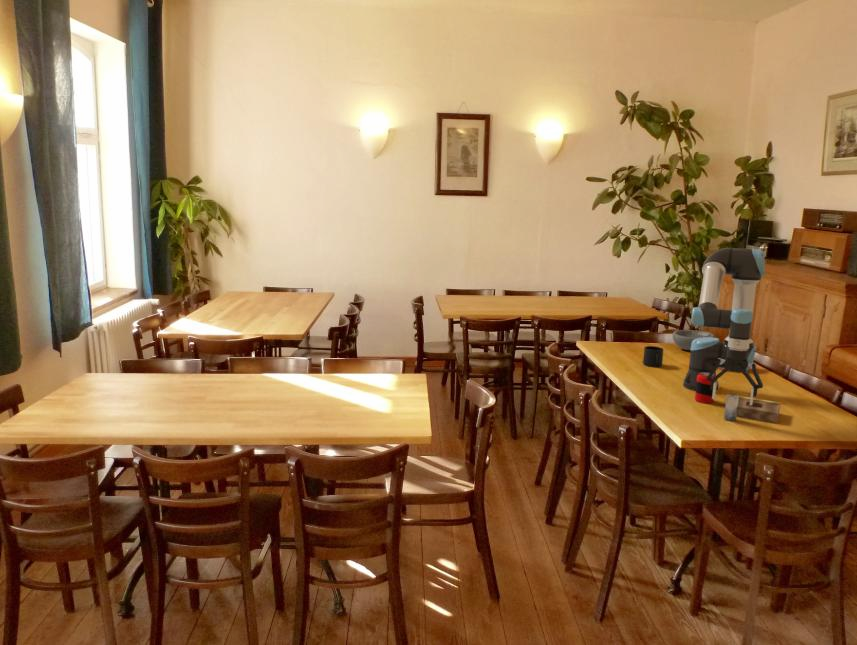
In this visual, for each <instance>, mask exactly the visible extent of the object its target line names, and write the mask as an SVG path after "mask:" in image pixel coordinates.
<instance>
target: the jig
mask: <svg viewBox="0 0 857 645" xmlns="http://www.w3.org/2000/svg"><path fill="white" fill-rule="evenodd" d="M738 396H739V400H738V408H737V417H739V418H744V419H745V418H746V419H750V420H751V419H752V420H755V421H761V422H768V423H774V424H777V422H778V419H779V416H780V410H781V409H780V408H781V404H780V403H779V402H778V401H773V400H767V399H760V398H756V397H753V404H752V405H750V398H751V397H747V396H743V395H742V396H741V395H738Z"/></svg>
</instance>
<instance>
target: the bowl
mask: <svg viewBox="0 0 857 645" xmlns="http://www.w3.org/2000/svg"><path fill="white" fill-rule="evenodd" d="M704 337H713V338H716V337H715V335H714V334H713V333H712V332H709V331H706V330H705V331H704V330H693V329H680V330H675V331H673V332H672V340H673V341H674V343H675V344H676V346H677V347H679V348H681V349H683V350H685V351H690V352H691V350H690V348H691V344H692V341H693V340H694V339H697V338H704Z"/></svg>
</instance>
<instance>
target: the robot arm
mask: <svg viewBox="0 0 857 645" xmlns="http://www.w3.org/2000/svg"><path fill="white" fill-rule="evenodd" d="M765 263H766V262H765V253H764V251H763V250H762V249H756V248H755V249H754V248H735V247H734V248H731V247H724V248H719V249H717V250H716V251H714V252H712V253H711V254H710V255H709V256H707V258H706V259H705V260H704V262H703V265H702V268H701V273H702V276H703V278H702V283H701V289H700V296H699V303H698V306H697V307H693V308H692V312H691V320H690V321H691V322H690V323H691V324H692V325H693V326H697V327H703V328H704V327H705V328H706V327H707V328H720V329H725V330H726V329H727V330H729V331H728V335H727V336H726V337H725V338H724V341H723V342H722V341H720V338H717V337H715V338H713V337H704V338H697V339H694V340H693V341H692V344H691V348H690V350H691V351H690V352H689V353H690V354H689V361H688V362H689V365H688V371H687V373H686V375H685V377H684V379H683V383H682V385H683V387H684V388H686V389H689V390H692V391H696V381H697V376H698V375H699V374H700V373H703V372H705V373H710V374H709V375H708V377H707V378H706V380H709V381H710V382H711V386H710V390H713V395H712V399H714V400H715V399H716V394H717V391H718V390H719V387H720V386H719V385H720V384H719V381H718V379H719V378H721V377H722V376H723V375H724V374H726V373H727V372H731V373H737V374H740V373H742V375H743V376H744V378H746V380H747V381H748V383H750V385H751V386H752V387H751V389H750V397H749V398H750V405H752V404H753V398H756V397H757V395H758V389H763V387H764V383H763V382H762V379H761V376H760V374H759V371H758V369H757V363H756V362H754V359H755V355H756V350H757V346H756V345H754V340H753V339H752V338H751V332H752V326H753V325H752V324H753V315H754V314H753V313H754V306H755V299H756V297H755V296H756V288H757V287H756V286H757V284H758V283H759V282H761V280H762V278H763V277H765V276H766V274H765V273H766V272H765V270H766V269H765V268H766V267H765V265H766V264H765ZM725 275H730V276H731V281H733V284H734V287H733V294H732V295H733V296H732V303H731V304H732V305H731V309H721V308H720V309H719V303H720V296H721V291H722V290H721V289H722V281H723V278H724V277H725ZM718 367H719V368H725V369H724V370H721V371H720V372H718V374H717V370H718V369H717V368H718ZM728 370H729V371H728ZM749 370H751V371H752V373H753V376H754V379H755V380H756V381H755V380H754V379H753V377H752V376H751V375H750V373H749V372H748V371H749ZM713 374H714V376H715V377H714V378H711V377H712V375H713ZM715 381H716V382H715Z"/></svg>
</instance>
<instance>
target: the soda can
mask: <svg viewBox="0 0 857 645" xmlns="http://www.w3.org/2000/svg"><path fill="white" fill-rule="evenodd" d="M709 374H710V373H705V372H703V373H700V374H699V375H698V376H697V381H696V391H695V390H694V391H695V393H694V400H695V401H696V402H698V403H701V404H712V403H714V401H715V399H712V395H713V390H710V386H711V382H710V381H709V380H706V378H707V377H708V375H709ZM714 377H715V376H714V374H713V375H712V377H711V378H714ZM715 382H716V381H715Z"/></svg>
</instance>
